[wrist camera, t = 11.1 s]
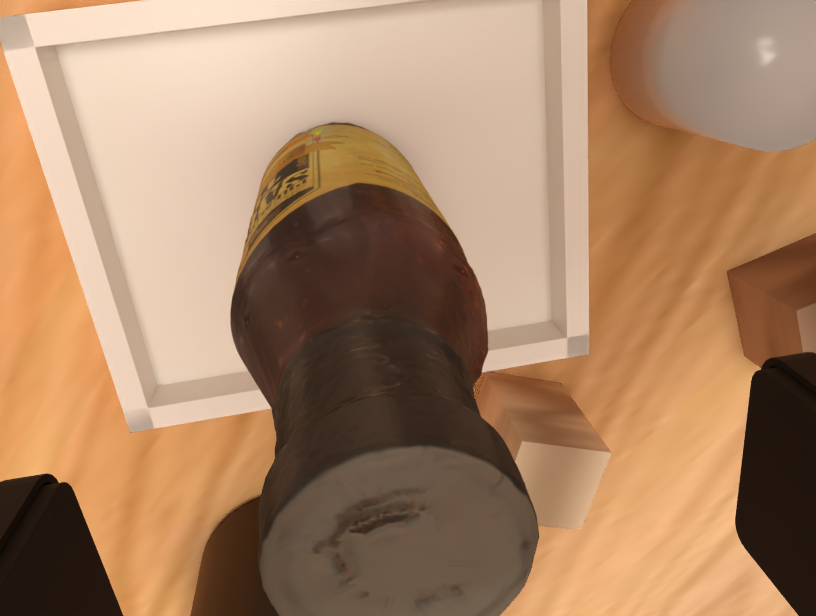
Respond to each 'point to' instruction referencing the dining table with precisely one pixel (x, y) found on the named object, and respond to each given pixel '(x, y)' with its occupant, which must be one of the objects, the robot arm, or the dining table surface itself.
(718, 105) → the white rounded block
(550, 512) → the beech block
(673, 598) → the dining table surface
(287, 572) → the sauce bottle
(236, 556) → the mug
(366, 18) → the tray
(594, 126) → the dining table surface
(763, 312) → the walnut cube
